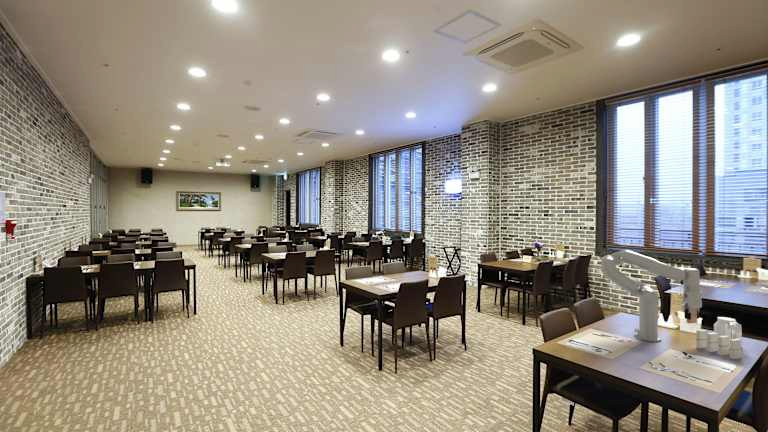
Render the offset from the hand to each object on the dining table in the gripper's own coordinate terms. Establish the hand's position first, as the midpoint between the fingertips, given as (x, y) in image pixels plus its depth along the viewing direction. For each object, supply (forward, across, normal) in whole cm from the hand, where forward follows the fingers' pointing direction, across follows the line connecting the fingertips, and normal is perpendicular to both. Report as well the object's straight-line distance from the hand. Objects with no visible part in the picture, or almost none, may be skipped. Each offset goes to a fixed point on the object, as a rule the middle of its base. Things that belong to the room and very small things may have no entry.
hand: (691, 318), depth 219 cm
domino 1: (+3, 0, 0) cm, 3 cm away
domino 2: (+16, 0, -5) cm, 17 cm away
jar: (+16, +22, -5) cm, 28 cm away
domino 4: (+16, 0, -16) cm, 23 cm away
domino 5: (+16, 0, -22) cm, 27 cm away
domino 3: (+16, 0, -11) cm, 19 cm away
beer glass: (+16, +14, -13) cm, 25 cm away
